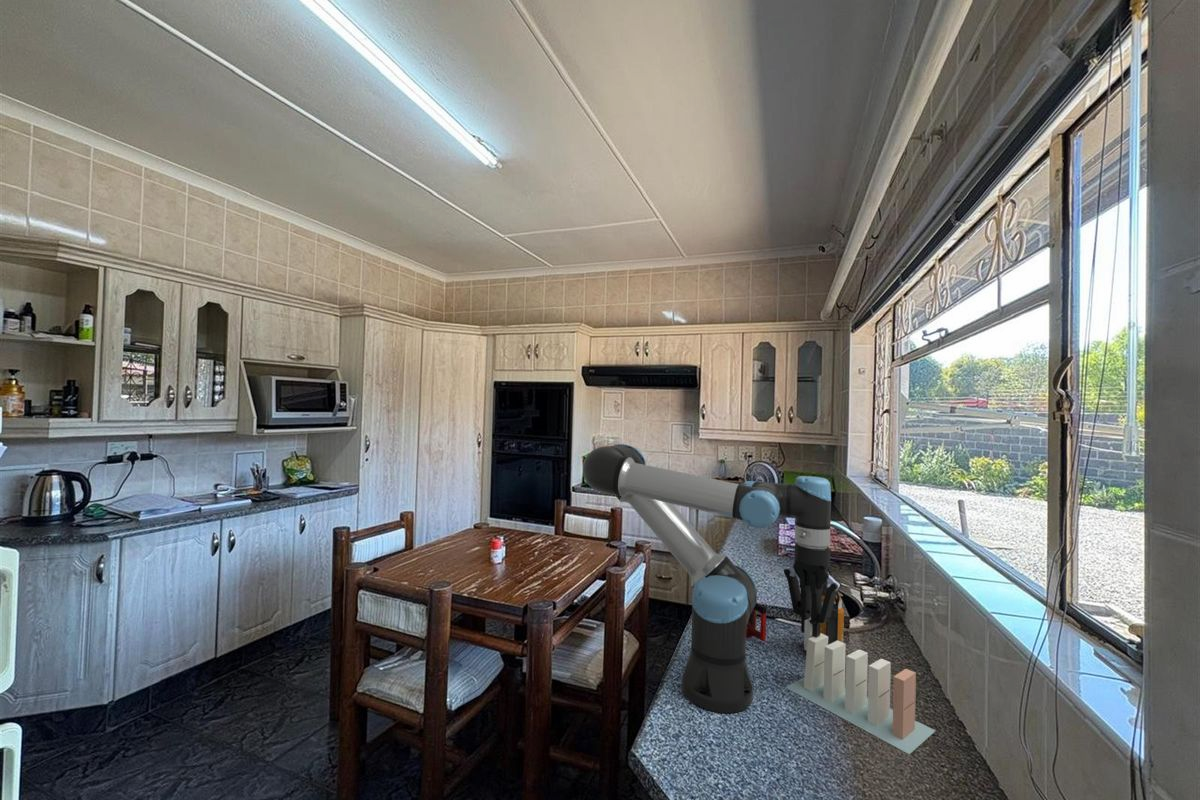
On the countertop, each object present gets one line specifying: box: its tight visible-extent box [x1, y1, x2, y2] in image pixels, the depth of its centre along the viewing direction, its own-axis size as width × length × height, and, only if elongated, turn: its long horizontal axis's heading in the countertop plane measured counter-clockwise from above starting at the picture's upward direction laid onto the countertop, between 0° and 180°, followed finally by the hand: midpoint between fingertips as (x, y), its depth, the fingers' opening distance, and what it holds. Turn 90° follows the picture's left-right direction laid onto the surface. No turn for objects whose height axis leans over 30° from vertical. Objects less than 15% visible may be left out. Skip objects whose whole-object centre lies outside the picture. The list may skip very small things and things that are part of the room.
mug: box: [746, 587, 767, 642], centre depth 135 cm, size 10×14×12 cm
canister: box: [803, 582, 845, 655], centre depth 121 cm, size 9×11×20 cm
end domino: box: [892, 668, 917, 740], centre depth 93 cm, size 2×5×11 cm, turn 126°
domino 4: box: [867, 658, 892, 726], centre depth 97 cm, size 2×5×11 cm, turn 126°
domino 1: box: [803, 633, 828, 692], centre depth 108 cm, size 2×5×11 cm, turn 126°
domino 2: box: [823, 640, 847, 702], centre depth 104 cm, size 2×5×11 cm, turn 126°
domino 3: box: [845, 649, 869, 714], centre depth 101 cm, size 2×5×11 cm, turn 126°
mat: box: [785, 677, 937, 755], centre depth 100 cm, size 25×12×1 cm, turn 36°
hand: (810, 648), depth 109 cm, fingers closed
